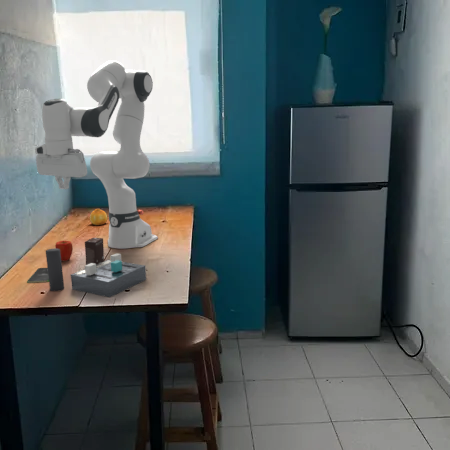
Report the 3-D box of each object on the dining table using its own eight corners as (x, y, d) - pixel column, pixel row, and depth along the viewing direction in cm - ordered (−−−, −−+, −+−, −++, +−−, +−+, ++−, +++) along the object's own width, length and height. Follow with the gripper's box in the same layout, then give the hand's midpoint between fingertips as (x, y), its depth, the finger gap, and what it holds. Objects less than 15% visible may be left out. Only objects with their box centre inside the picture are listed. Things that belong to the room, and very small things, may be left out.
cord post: (57, 285, 177) (53, 247, 173) (67, 287, 174) (62, 249, 171) (47, 289, 173) (42, 251, 170) (56, 292, 171) (52, 253, 168)
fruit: (96, 222, 255) (100, 207, 258) (84, 222, 260) (88, 207, 262) (108, 228, 262) (112, 212, 264) (96, 227, 266) (100, 212, 268)
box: (98, 275, 186) (95, 242, 183) (86, 274, 187) (83, 241, 184) (106, 270, 191) (103, 237, 188) (94, 269, 192) (92, 237, 190)
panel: (110, 273, 188) (108, 259, 186) (146, 279, 180) (145, 264, 179) (72, 289, 173) (70, 274, 171) (109, 297, 165) (108, 281, 164)
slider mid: (117, 268, 175) (116, 260, 174) (122, 269, 174) (121, 260, 173) (111, 271, 173) (110, 262, 172) (116, 272, 172) (115, 263, 171)
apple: (77, 258, 206) (75, 239, 204) (65, 263, 201) (63, 243, 199) (65, 256, 209) (63, 238, 208) (53, 260, 204) (51, 242, 202)
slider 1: (92, 271, 173) (91, 263, 172) (96, 272, 172) (96, 263, 171) (85, 274, 170) (84, 265, 169) (90, 275, 169) (89, 266, 168)
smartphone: (25, 281, 180) (38, 267, 194) (26, 284, 180) (38, 270, 195) (48, 280, 180) (59, 266, 195) (49, 283, 180) (59, 269, 195)
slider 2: (116, 261, 183) (116, 253, 182) (121, 262, 182) (120, 254, 181) (111, 264, 180) (110, 255, 180) (115, 264, 179) (114, 256, 179)
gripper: (89, 148, 178) (93, 189, 182) (45, 146, 188) (50, 185, 191) (75, 150, 173) (80, 192, 176) (31, 148, 183) (36, 188, 186)
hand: (64, 188), depth 184 cm, fingers closed
